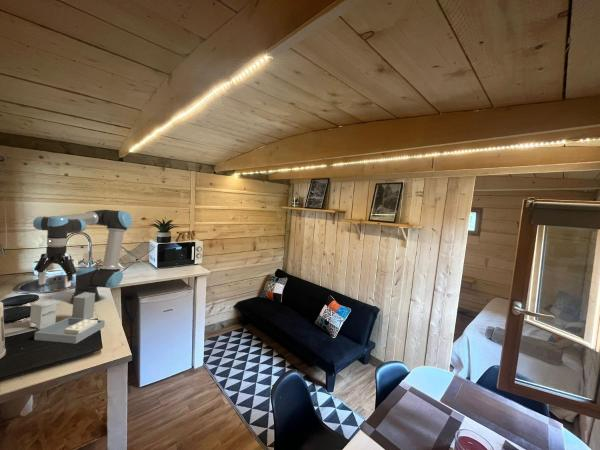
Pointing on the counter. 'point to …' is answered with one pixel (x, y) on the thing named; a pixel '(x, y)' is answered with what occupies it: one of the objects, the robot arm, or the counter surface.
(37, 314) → the supplement box
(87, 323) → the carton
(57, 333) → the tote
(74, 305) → the skincare box
